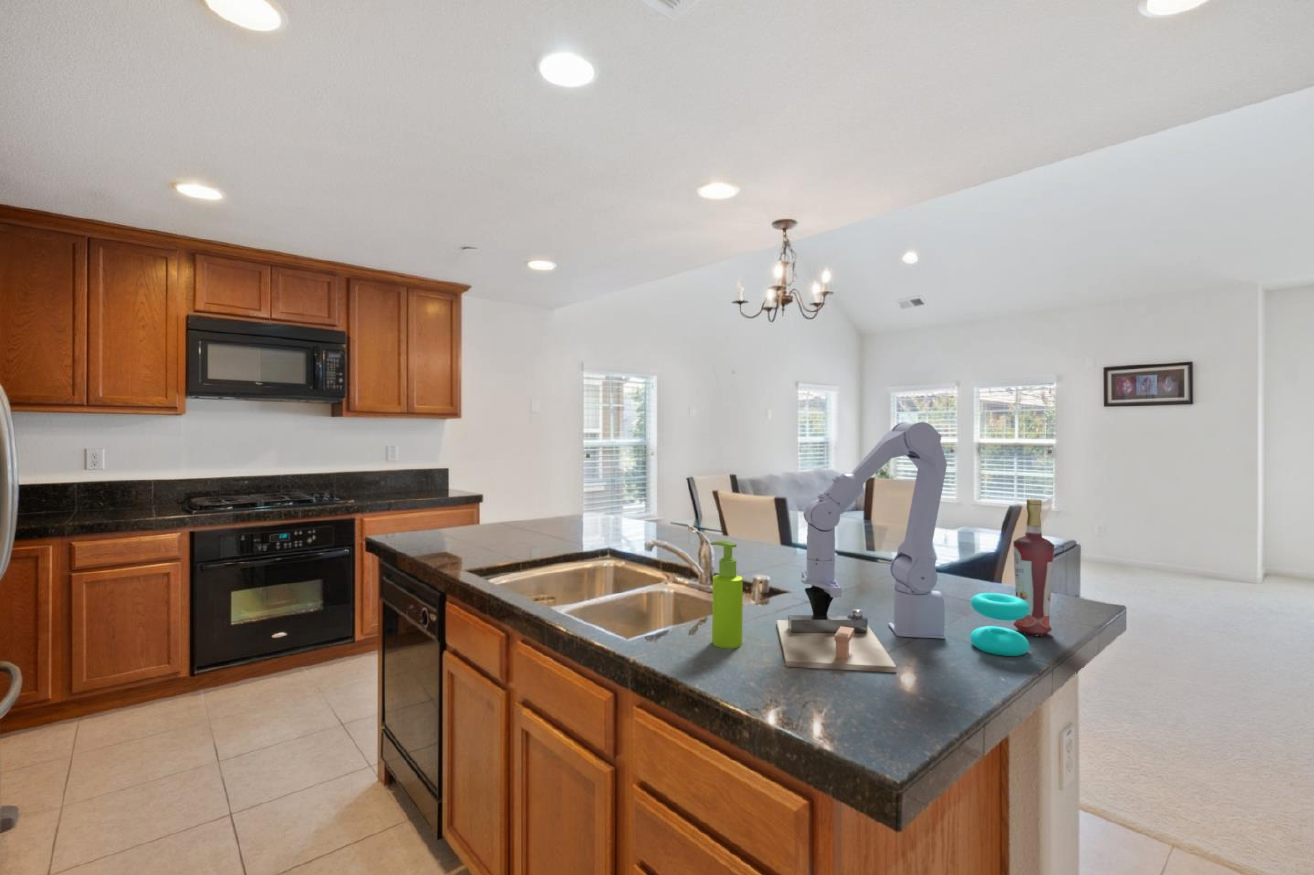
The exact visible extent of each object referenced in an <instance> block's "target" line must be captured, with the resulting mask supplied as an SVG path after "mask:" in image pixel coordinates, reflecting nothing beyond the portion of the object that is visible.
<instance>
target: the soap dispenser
mask: <svg viewBox="0 0 1314 875" xmlns="http://www.w3.org/2000/svg"><path fill="white" fill-rule="evenodd" d="M709 544H710V546H721V547H723V557H721V558H719V562H718V565H719V566H718V567H719V568H718V569H719V570H718V574H715V575H713V576H712V630H711V631H712V632H711V634H712V635H711V637H712V645H713V646H715V647H717V648H721V649H736V648H739V647H741V646H742V645H743V600H744V598H743V594H744V593H743V587H744V586H743V585H744V584H743V583H744V582H743V580H744V579H743V577H742V576H741V575H738V574H737V559H735V558H734V557H733V548H737V543H734V542H731V541H727V540H719V541H714V542H709Z"/></svg>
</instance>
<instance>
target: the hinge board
mask: <svg viewBox="0 0 1314 875" xmlns="http://www.w3.org/2000/svg"><path fill="white" fill-rule="evenodd" d="M776 626H777V628H776V629H777V631H778V636H779V641H780V645H781V650H782V653H783V658H784V663H785V666H786V667H787V668H789V667H790V668H808V669H826V670H827V669H828V670H844V671H845V670H847V671H865V672H867V671H868V672H881V673H882V672H884V673H886V672H888V673H897V665H896V664H895V662H894V661H893V659H892V658H891V657H890V655H889V653H888V651H886V649H885V648H884V646H883V645H882V643H881V642H880V640H879V639H878V638H877V636H876V635H875V633H874V631H872V628H870V626H869V625H868V631H867V632H865V633H855V632H854V635H853V636H852V638H851V640H850V642H849V657H848V659H847V660H846V659H841V658H836V641H834V635H835V634H836V632H791V631H790V629H789V628H788V619H786V620H785V619H784V620H783V619H776Z"/></svg>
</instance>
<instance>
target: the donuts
mask: <svg viewBox="0 0 1314 875" xmlns="http://www.w3.org/2000/svg"><path fill="white" fill-rule="evenodd" d="M970 605H971V607H972V609H973V610H974V611H975V612H977V614H979V615H981V616H984V617H986V618H989V619H993V620H998V621H1005V622H1006V621H1008V622H1010V621H1016V620H1019V619H1022V618H1024V617H1026V616H1027V615H1028V613H1029V611H1030V608H1029V605H1028V604H1027V603H1026V602H1025V601H1024V600H1023V599H1021V598H1018V597H1016V595H1010V594H1005V593H1000V592H981V593H980V592H979V593H976V594H975V595H974V596H972V598H971V600H970ZM969 639H970V642H971V643H972V645H973V646H974V647H976V648H977V649H979V651H980V650H981V651H982V652H985V653H988V654H993V655H998V656H1004V657H1019V656H1022V655H1025V654H1026V653H1027V652H1028V651H1029V649H1030V644H1029V641H1028V639H1027V638H1026V637H1025V636H1024V634H1023V633H1021V632H1019V631H1016V630H1013V629H1011V628H1007V627H1002V626H995V625H993V626H992V625H989V626H987V625H985V626H981V627H976V629H974V630H973V631H972V632H971V633H970V637H969Z"/></svg>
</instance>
